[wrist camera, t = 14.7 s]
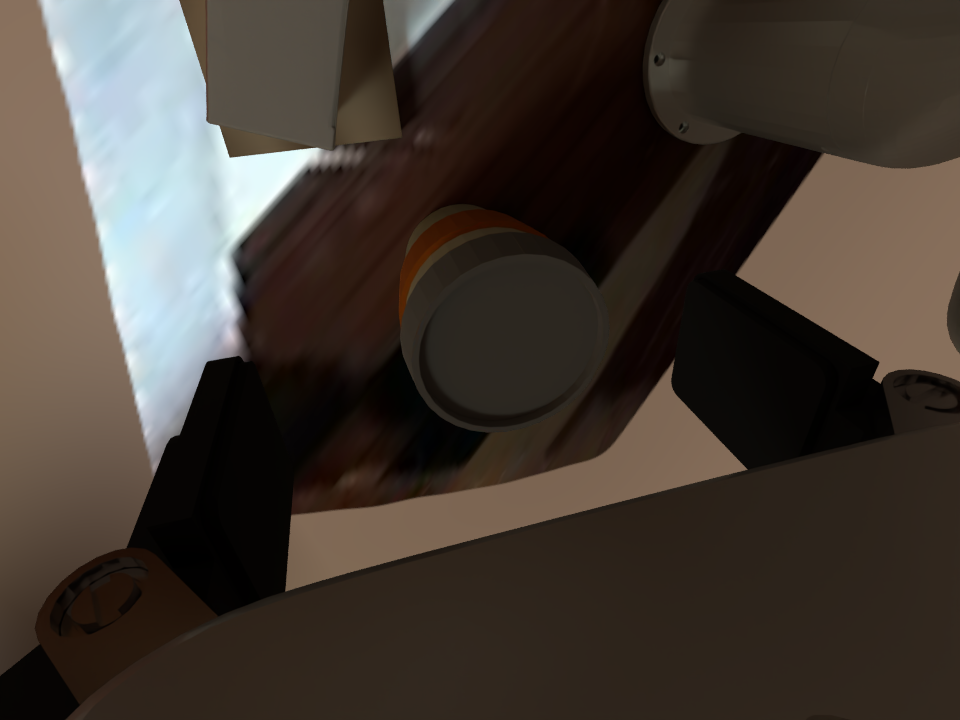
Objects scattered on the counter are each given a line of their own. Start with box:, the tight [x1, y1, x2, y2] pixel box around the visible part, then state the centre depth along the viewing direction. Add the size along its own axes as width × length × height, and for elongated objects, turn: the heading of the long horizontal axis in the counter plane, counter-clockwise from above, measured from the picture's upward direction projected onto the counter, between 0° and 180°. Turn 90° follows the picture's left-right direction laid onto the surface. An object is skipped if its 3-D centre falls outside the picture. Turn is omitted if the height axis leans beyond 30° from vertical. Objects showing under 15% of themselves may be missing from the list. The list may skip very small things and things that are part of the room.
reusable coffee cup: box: [399, 204, 609, 432], centre depth 36 cm, size 12×13×15 cm
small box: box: [205, 0, 350, 151], centre depth 26 cm, size 8×6×10 cm
